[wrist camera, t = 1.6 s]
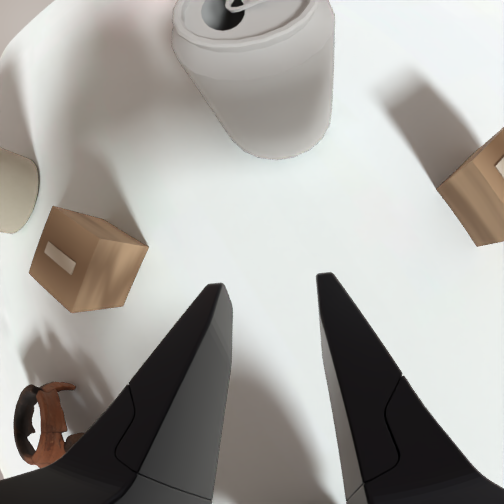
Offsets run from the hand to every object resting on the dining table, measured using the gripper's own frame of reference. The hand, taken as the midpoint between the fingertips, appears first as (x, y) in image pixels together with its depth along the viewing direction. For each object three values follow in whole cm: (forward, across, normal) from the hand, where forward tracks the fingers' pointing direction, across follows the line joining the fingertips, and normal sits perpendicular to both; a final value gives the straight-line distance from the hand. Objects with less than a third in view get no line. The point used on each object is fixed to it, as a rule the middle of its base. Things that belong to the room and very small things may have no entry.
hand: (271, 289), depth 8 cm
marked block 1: (+12, -14, +6) cm, 19 cm away
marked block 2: (+11, +14, +7) cm, 19 cm away
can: (+17, 0, +1) cm, 17 cm away
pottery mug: (0, +19, +18) cm, 26 cm away
